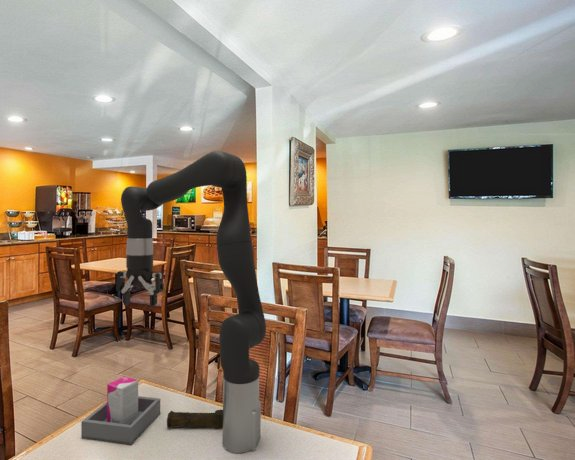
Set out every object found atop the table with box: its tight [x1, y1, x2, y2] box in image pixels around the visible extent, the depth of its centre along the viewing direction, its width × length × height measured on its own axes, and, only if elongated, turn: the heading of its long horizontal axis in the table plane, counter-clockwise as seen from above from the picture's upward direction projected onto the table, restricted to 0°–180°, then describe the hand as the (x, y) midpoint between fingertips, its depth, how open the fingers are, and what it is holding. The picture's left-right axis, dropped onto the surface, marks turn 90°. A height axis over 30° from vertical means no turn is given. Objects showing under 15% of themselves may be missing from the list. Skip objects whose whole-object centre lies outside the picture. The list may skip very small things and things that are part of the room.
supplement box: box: [106, 376, 139, 425], centre depth 94 cm, size 6×6×12 cm
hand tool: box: [166, 409, 223, 430], centre depth 94 cm, size 19×4×5 cm, turn 88°
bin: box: [80, 395, 161, 446], centre depth 94 cm, size 14×14×4 cm
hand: (139, 305), depth 104 cm, fingers open, 8 cm apart
